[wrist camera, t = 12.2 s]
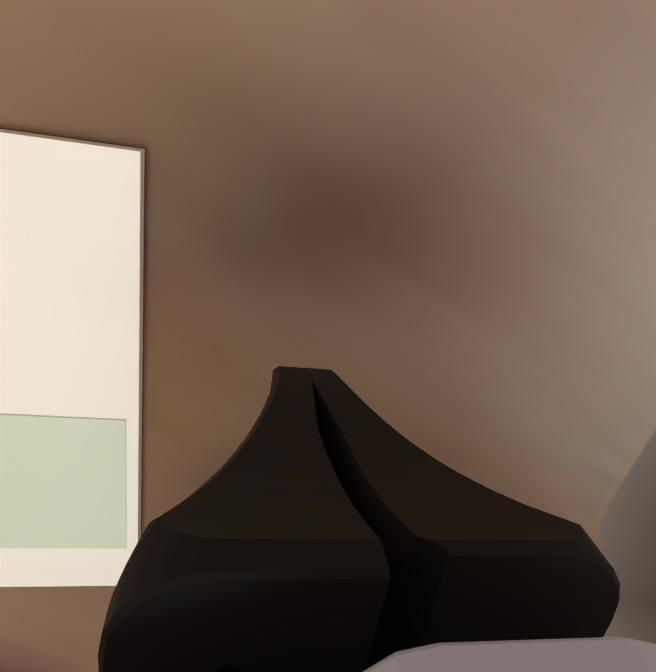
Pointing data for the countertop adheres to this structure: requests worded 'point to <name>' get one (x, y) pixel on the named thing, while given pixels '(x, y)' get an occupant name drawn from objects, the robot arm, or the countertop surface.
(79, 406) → the white sorting board
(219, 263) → the countertop surface
